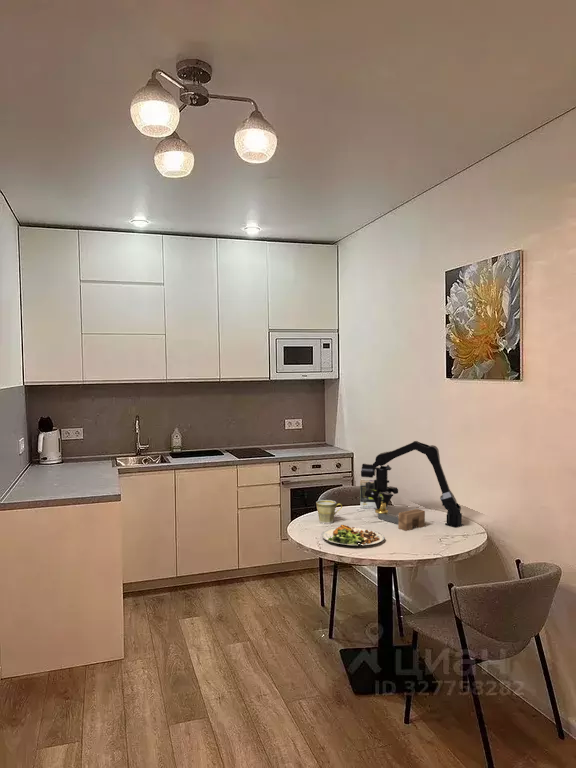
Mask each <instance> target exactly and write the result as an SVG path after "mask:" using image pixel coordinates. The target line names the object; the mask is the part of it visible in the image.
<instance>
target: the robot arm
mask: <svg viewBox="0 0 576 768" xmlns="http://www.w3.org/2000/svg"><path fill="white" fill-rule="evenodd" d="M414 451H417V452H420V453H421V454H424V455H425V457H426V458H427V459H428V461H429V463H430V464H431V465H432V468H433V471H434V473H435V476H436V479H437V483H438V484H439V488H440V490H441V495H440V497H439V499H440V502H441V505H442V507H444V510H447V512H446V523H445V526H449V527H453V528H459V527H462V525H463V526H464V525H465V524H464V523H463V522H462V521H463V520H462V519H463V516H462V515H463V513H461V509H462V506H461V505H460V504H459V503H458V501H457V499H456V497H455V495H454V494H453V492H452V490H451V489H450V486H449V483H448V481H447V479H446V475H445V472H444V470H443V467H442V464H441V460H440V451H439V448H438V447H437V446H436V445H429V444H427V443H424V442H419V441H418V440H413V441H412V442H411V443H408V444H406V445H402V446H401V447H398V448H396V449H393V450H391V451H390V450H389V451H384V452H381V453H378V454H377V455H376V456H375V461H374V462H373V463H372V464H369V463H362V465H361V470H360V476H361V478H369V479H374V476H375V479H376V480H374V483H370V482H367V483H366V489H368V490H366V491H365V496H367V497H371V498H373V499H374V501H375V504H376V507H377V508H376V509H378V510H379V509H380V504H381V499H382V497H380V494H382V496H383V502H386V507H387V505H388V504H389V502H390V501H391V499H392V498H393V497H394V495H395V494H399V489H398V487H395V486H388V487H387V485H388V484H389V483H390V480H388V477H389V476H388V473H389V471H391V470H392V467H391V466H390V465H389V464H388V463H389V462H391V461H392V460H394V459H396V458H399V457H400V456H403V455H406V454H408V453H410V452H414ZM374 490H376V491H374ZM392 493H393V494H392ZM458 526H459V527H458Z"/></svg>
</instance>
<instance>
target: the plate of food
mask: <svg viewBox="0 0 576 768" xmlns="http://www.w3.org/2000/svg"><path fill="white" fill-rule="evenodd" d="M332 535H333V537H332V538H331V536H332ZM321 537H322V538H323V539H324V540H326V541H328V542H330V543H334V544H338V545H339V544H340V545H346V546H358V545H359V544H358V543H361V544H363V545H362V546H369V545H370V546H371V545H374V544H375V545H376V544H378V543H380V542H383V541H384V540H385V536H384V535H383V533H380V532H378V531H376V530H373V529H368V528H363V527H354V526H349V525H346V524H341V525H339V526H338V527H333V528H328V529H325V530H324V531H322V533H321ZM365 543H367V544H365ZM361 544H360V545H361Z"/></svg>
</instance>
